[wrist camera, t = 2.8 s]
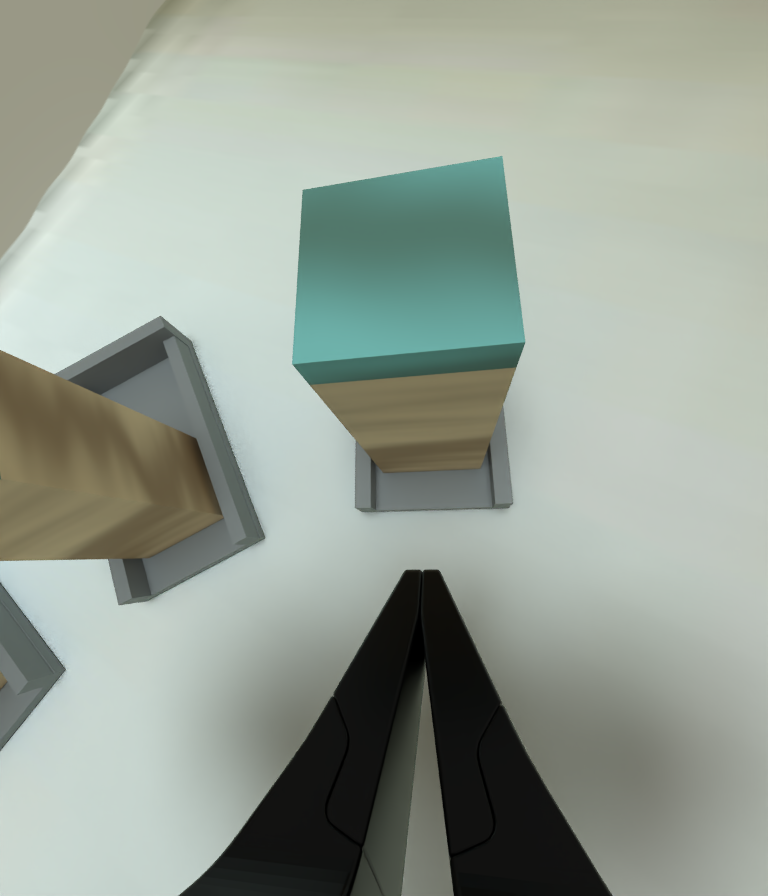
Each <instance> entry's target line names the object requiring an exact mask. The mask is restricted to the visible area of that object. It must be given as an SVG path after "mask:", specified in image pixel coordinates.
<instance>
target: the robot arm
mask: <svg viewBox="0 0 768 896" xmlns="http://www.w3.org/2000/svg"><path fill="white" fill-rule="evenodd" d="M425 663H426V671H427V679H428V687H429V696H430V704H431V712H432V720H433V728H434V737H435V745H436V753H437V761H438V769H439V778H440V786H441V794H442V802H443V811H444V819H445V827H446V835H447V843H448V852H449V860H450V868H451V876H452V884H453V893H454V896H613V895H612V894H611V892H610V891H609V889H608V888H607V886H606V884H605V883H604V881H603V880H602V878H601V877H600V875H599V873H598V872H597V870H596V868H595V867H594V865H593V863H592V862H591V860H590V858H589V857H588V855H587V854H586V852H585V850H584V849H583V847H582V845H581V844H580V842H579V840H578V839H577V837H576V835H575V834H574V832H573V830H572V829H571V827H570V825H569V824H568V822H567V820H566V819H565V817H564V815H563V814H562V812H561V811H560V809H559V807H558V806H557V804H556V802H555V801H554V799H553V797H552V796H551V794H550V792H549V791H548V789H547V787H546V786H545V784H544V782H543V780H542V779H541V777H540V775H539V773H538V772H537V770H536V768H535V766H534V764H533V763H532V761H531V759H530V757H529V756H528V754H527V752H526V750H525V748H524V746H523V744H522V742H521V740H520V738H519V736H518V734H517V732H516V730H515V728H514V726H513V724H512V722H511V720H510V718H509V716H508V714H507V712H506V709H505V707H504V706H503V705H502V701H501V699H500V697H499V695H498V693H497V691H496V689H495V687H494V684H493V682H492V680H491V678H490V676H489V674H488V672H487V670H486V667H485V665H484V663H483V661H482V659H481V657H480V655H479V653H478V651H477V648H476V646H475V644H474V642H473V640H472V638H471V636H470V634H469V631H468V629H467V627H466V625H465V623H464V621H463V619H462V617H461V615H460V612H459V610H458V608H457V606H456V604H455V602H454V600H453V598H452V595H451V593H450V591H449V589H448V587H447V585H446V583H445V581H444V578H443V576H442V574H441V572H440V571H439V570H424V571H423V572H422V571H421V570H406V571H405V572H404V573H403V575H402V576H401V578H400V580H399V581H398V583H397V585H396V587H395V588H394V590H393V592H392V593H391V595H390V597H389V599H388V600H387V602H386V604H385V605H384V607H383V609H382V611H381V612H380V614H379V616H378V617H377V619H376V621H375V623H374V624H373V626H372V628H371V630H370V631H369V633H368V635H367V636H366V638H365V640H364V642H363V643H362V645H361V647H360V648H359V650H358V652H357V654H356V655H355V657H354V659H353V660H352V662H351V664H350V666H349V667H348V669H347V671H346V672H345V674H344V676H343V678H342V679H341V681H340V683H339V685H338V686H337V688H336V690H335V691H334V697H333V696H332V697H331V698H330V700H329V701H328V703H327V705H326V707H325V708H324V710H323V712H322V713H321V715H320V717H319V718H318V720H317V722H316V723H315V725H314V726H313V728H312V730H311V731H310V733H309V734H308V736H307V738H306V739H305V741H304V742H303V744H302V745H301V746H300V748H299V749H298V751H297V752H296V754H295V755H294V757H293V758H292V760H291V761H290V762H289V764H288V765H287V767H286V768H285V769H284V771H283V772H282V774H281V775H280V776H279V778H278V779H277V781H276V782H275V783H274V785H273V786H272V787H271V789H270V790H269V792H268V793H267V794H266V796H265V797H264V798H263V800H262V801H261V803H260V804H259V805H258V807H257V808H256V809H255V811H254V812H253V814H252V815H251V816H250V818H249V819H248V821H247V822H246V823H245V825H244V826H243V827H242V829H241V830H240V832H239V833H238V834H237V836H236V837H235V838H234V840H233V841H232V842H231V844H230V845H229V846H228V847H227V849H226V850H225V851H224V852H223V853H222V855H221V856H220V857H219V858H218V859H217V860H216V861H215V862H214V863H213V865H212V866H211V867H210V868H209V869H208V870H207V871H206V872H205V873H204V874H203V875H202V876H201V877H200V878H198V879H197V880H196V881H195V882H194V883H193V884H192V885H190V886H189V887H188V888H187V889H186V890H185V891H183V892H182V893H181V894H180V895H179V896H401V891H402V882H403V873H404V863H405V854H406V845H407V835H408V826H409V816H410V807H411V798H412V788H413V779H414V769H415V760H416V751H417V741H418V732H419V722H420V713H421V704H422V694H423V685H424V675H425Z"/></svg>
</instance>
